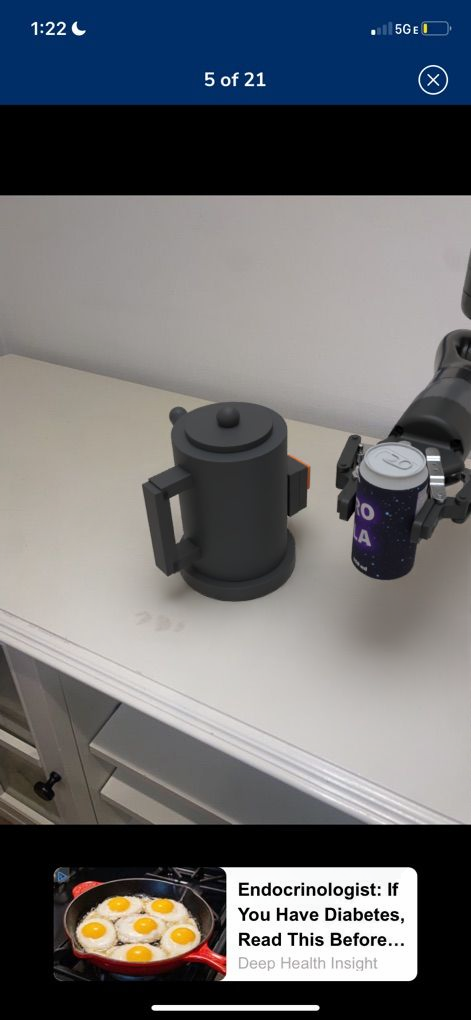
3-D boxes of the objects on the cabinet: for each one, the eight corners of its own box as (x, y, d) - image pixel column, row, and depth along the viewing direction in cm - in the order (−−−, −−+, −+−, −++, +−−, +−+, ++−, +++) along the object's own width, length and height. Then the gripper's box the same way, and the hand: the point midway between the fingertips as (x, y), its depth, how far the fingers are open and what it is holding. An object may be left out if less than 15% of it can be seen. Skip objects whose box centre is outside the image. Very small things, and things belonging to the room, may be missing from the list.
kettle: (237, 491, 86) (228, 349, 73) (329, 555, 75) (338, 401, 62) (118, 553, 77) (85, 404, 64) (203, 636, 66) (183, 475, 53)
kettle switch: (289, 475, 77) (289, 454, 75) (310, 488, 75) (310, 466, 73) (281, 480, 76) (281, 458, 74) (301, 493, 74) (302, 470, 72)
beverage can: (374, 537, 61) (385, 432, 54) (424, 563, 58) (444, 456, 50) (338, 567, 58) (345, 460, 51) (389, 597, 55) (405, 488, 47)
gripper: (374, 381, 64) (301, 464, 53) (522, 411, 57) (475, 513, 46) (368, 443, 68) (300, 531, 57) (504, 477, 62) (457, 584, 51)
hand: (378, 523), depth 52 cm, fingers closed on beverage can, 5 cm apart
